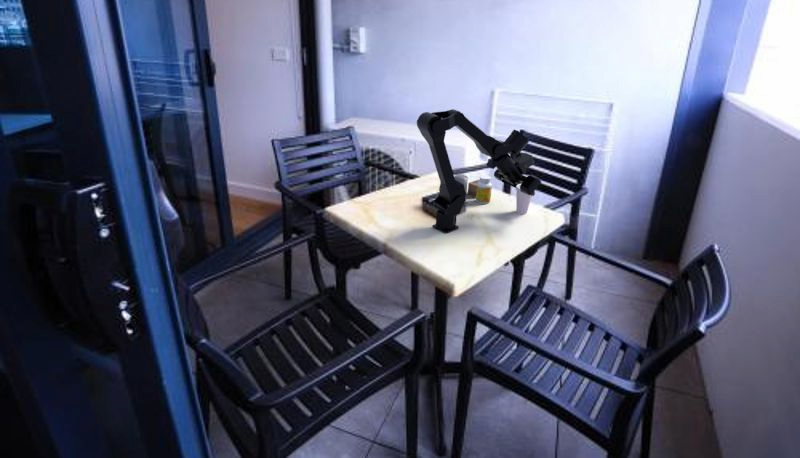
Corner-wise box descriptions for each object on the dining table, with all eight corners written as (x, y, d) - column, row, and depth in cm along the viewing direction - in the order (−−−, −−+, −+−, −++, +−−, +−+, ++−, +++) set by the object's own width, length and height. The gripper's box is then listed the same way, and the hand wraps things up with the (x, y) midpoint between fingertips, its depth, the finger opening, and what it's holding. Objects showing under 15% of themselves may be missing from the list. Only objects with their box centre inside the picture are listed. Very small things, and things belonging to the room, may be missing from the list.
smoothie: (532, 216, 167) (538, 178, 160) (514, 215, 167) (519, 177, 161) (528, 208, 172) (534, 172, 166) (510, 208, 172) (515, 171, 166)
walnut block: (477, 198, 181) (478, 186, 179) (467, 194, 184) (468, 182, 182) (487, 195, 184) (488, 183, 182) (477, 191, 188) (478, 179, 186)
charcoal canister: (460, 200, 179) (461, 180, 175) (450, 196, 182) (451, 176, 179) (468, 197, 182) (470, 177, 178) (459, 193, 185) (460, 173, 182)
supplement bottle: (474, 203, 176) (476, 178, 172) (477, 198, 181) (479, 174, 177) (488, 205, 175) (491, 180, 171) (491, 200, 179) (494, 175, 175)
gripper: (541, 154, 150) (561, 182, 159) (504, 140, 165) (524, 166, 174) (518, 181, 150) (540, 207, 159) (483, 164, 165) (505, 189, 174)
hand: (527, 191), depth 167 cm, fingers closed on smoothie, 6 cm apart
